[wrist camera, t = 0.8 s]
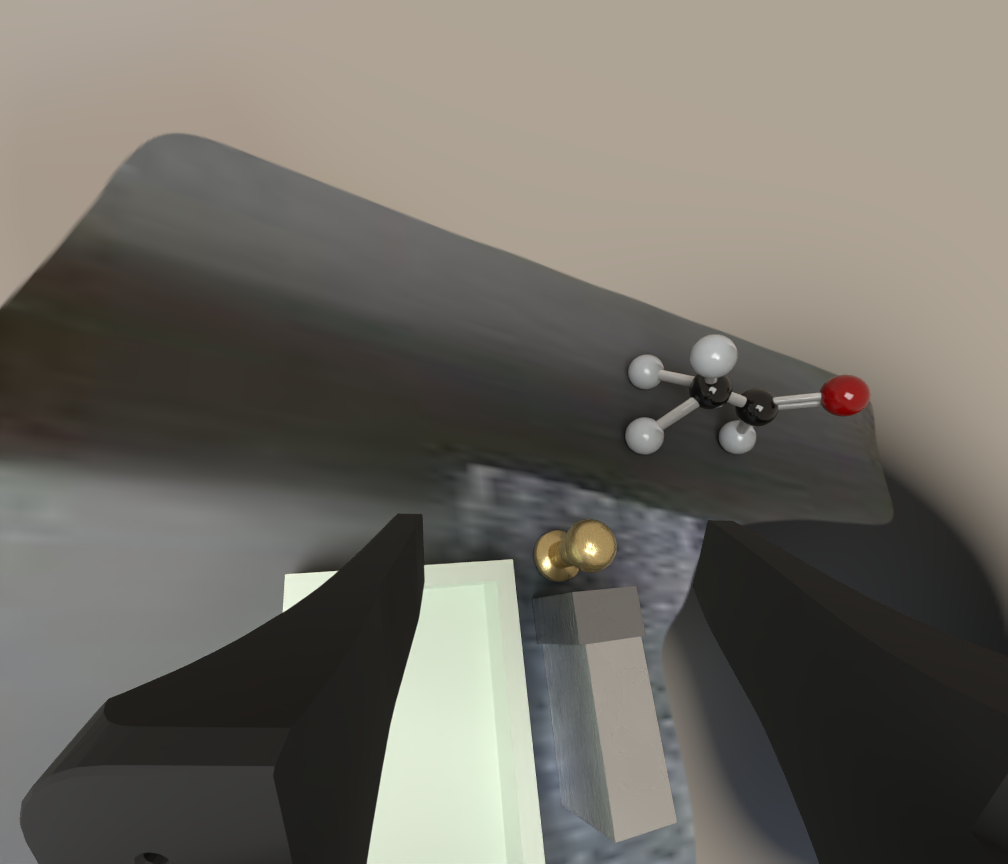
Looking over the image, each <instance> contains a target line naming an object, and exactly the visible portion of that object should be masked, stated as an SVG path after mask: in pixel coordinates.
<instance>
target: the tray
mask: <svg viewBox="0 0 1008 864" xmlns="http://www.w3.org/2000/svg"><path fill="white" fill-rule="evenodd" d="M336 572H338V571H329V572H314V573H298V574H285V586H284V601H283V612H284V611H286V610H287V609H289V608H291V607H292V606H293V605H295V604H296V603H298V602H299V601H301V600H302V599H303V598H305V597H306V596H308V595H309V594H310V593H312V592H313V591H314V590H316V589H317V588H318V587H320V586H321V585H322V584H323V583H325V582H326V581H327V580H328V579H329V578H331V577H332V576H333V575H334V574H335V573H336ZM424 576H425V583H424V589H423V596H422V603H421V609H420V616H419V620H418V624H417V628H416V632H415V635H414V639H413V643H412V646H411V650H410V653H409V657H408V661H407V664H406V668H405V671H404V675H403V678H402V682H401V686H400V689H399V693H398V696H397V700H396V704H395V708H394V712H393V716H392V720H391V725H390V730H389V735H388V741H387V746H386V752H385V757H384V763H383V769H382V774H381V780H380V786H379V792H378V798H377V804H376V809H375V815H374V821H373V827H372V833H371V840H370V846H369V852H368V859H367V864H545V857H544V847H543V838H542V829H541V819H540V810H539V801H538V791H537V782H536V773H535V763H534V754H533V744H532V735H531V726H530V716H529V707H528V698H527V688H526V679H525V670H524V660H523V651H522V641H521V632H520V623H519V613H518V604H517V595H516V585H515V576H514V567H513V559H510V560H495V561H480V562H464V563H449V564H434V565H424Z"/></svg>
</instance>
